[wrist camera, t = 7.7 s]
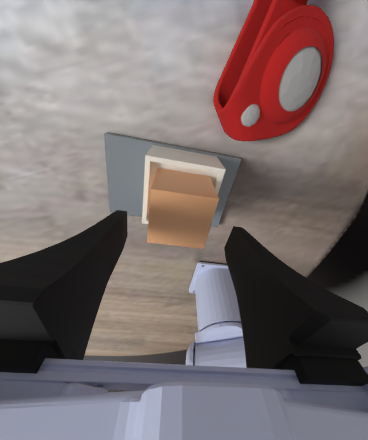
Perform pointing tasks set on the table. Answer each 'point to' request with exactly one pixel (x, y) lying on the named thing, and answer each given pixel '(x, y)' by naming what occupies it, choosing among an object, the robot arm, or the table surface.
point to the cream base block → (178, 169)
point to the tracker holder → (274, 70)
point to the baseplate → (135, 167)
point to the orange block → (181, 208)
